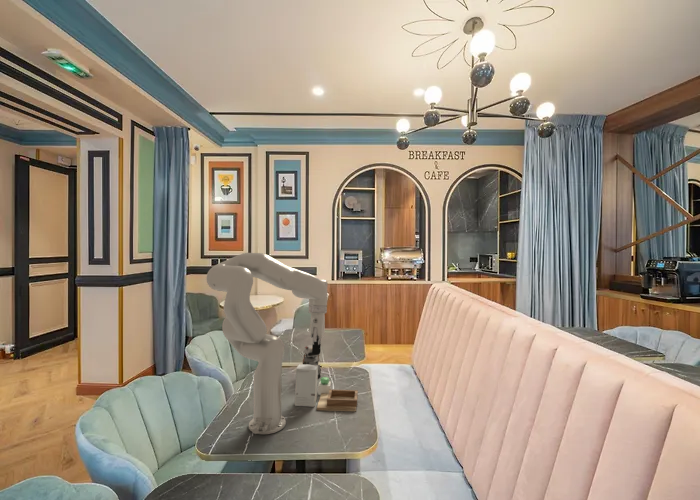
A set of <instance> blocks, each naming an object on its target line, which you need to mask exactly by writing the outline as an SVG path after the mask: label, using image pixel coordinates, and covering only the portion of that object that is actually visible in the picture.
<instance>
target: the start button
mask: <svg viewBox="0 0 700 500" xmlns="http://www.w3.org/2000/svg"><path fill="white" fill-rule="evenodd" d="M320 381H321V383H322V384H327V383H329V381H330V378H329V377H327V376H323V377H320Z"/></svg>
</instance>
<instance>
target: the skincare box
mask: <svg viewBox="0 0 700 500" xmlns="http://www.w3.org/2000/svg"><path fill="white" fill-rule="evenodd" d="M318 365H319V364H318ZM318 365H304V364H303V363H302V364H300V363H299V364H298V365H297V366H296V369H295V383H294V384H295V387H294V388H295V391H294V407H310V408H311V407H312V408H314V407H315V406H316V403H317V402H318V401H317V398H318V397H317V396H318V380H319V379H318V378H319V377H318Z"/></svg>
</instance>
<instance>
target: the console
mask: <svg viewBox="0 0 700 500" xmlns="http://www.w3.org/2000/svg"><path fill="white" fill-rule="evenodd" d="M330 389H332V381H330V380H329V383H327V384H322V383H321V380H320V381H318V384H317V396H321V393H326V394H329V390H330Z"/></svg>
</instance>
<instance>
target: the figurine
mask: <svg viewBox="0 0 700 500" xmlns="http://www.w3.org/2000/svg"><path fill="white" fill-rule="evenodd" d="M303 352H304V354H303V359H302V364H304V365H318V378H321V373H322V371H321V369H322V368H321V364H319V362H320V354H312V344H308V345H305V347H304V351H303Z"/></svg>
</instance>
